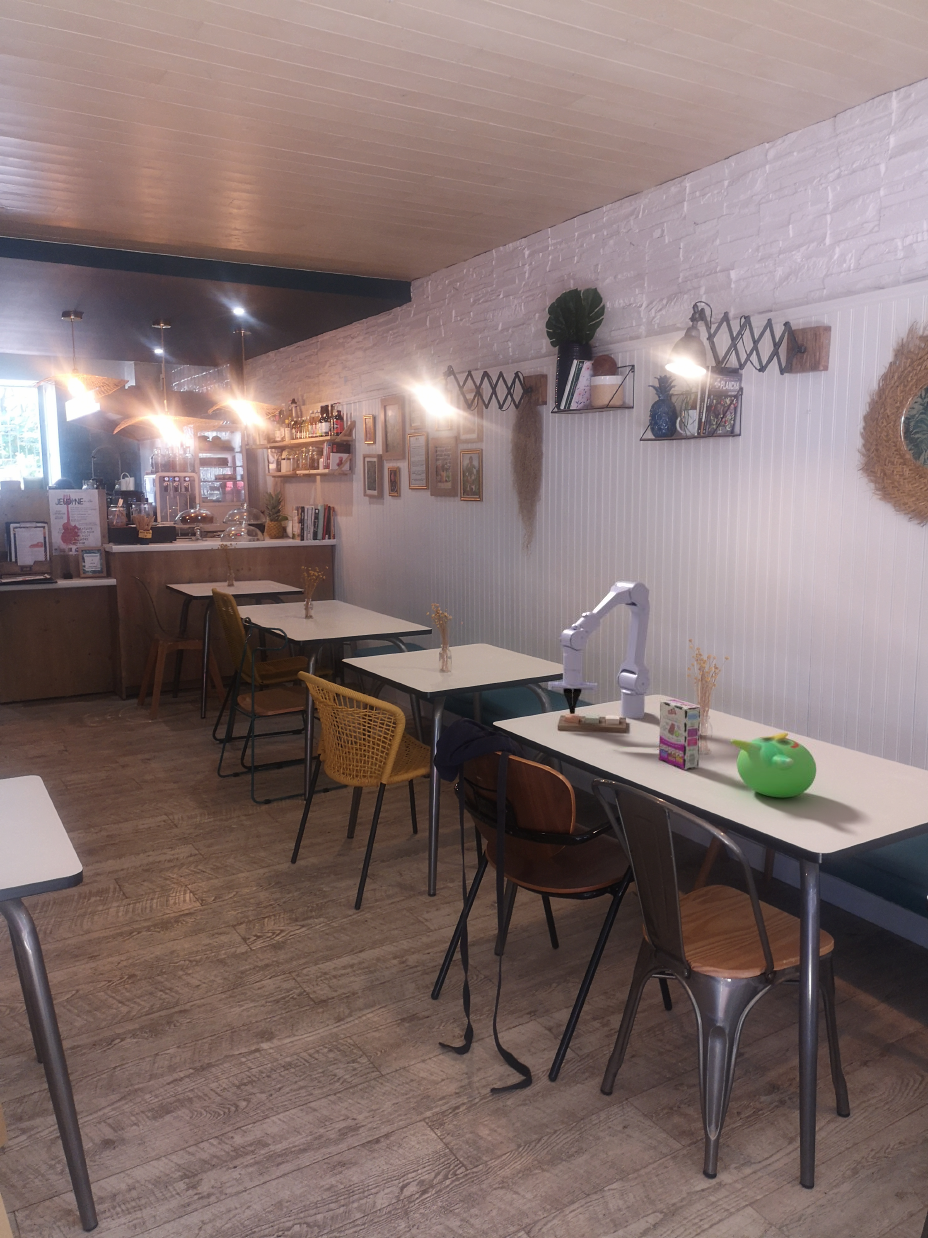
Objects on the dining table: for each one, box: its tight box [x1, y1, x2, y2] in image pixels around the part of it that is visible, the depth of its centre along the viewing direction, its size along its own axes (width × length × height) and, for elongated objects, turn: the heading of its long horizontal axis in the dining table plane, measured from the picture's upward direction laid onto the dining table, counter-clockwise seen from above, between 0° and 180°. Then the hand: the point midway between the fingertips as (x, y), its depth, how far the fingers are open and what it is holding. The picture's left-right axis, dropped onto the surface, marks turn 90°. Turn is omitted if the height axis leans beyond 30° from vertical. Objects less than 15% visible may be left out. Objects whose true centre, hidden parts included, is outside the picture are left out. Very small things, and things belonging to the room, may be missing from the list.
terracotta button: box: [565, 713, 580, 723], centre depth 276 cm, size 4×4×3 cm
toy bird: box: [730, 732, 817, 798], centre depth 216 cm, size 18×17×15 cm
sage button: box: [585, 714, 600, 723], centre depth 275 cm, size 4×4×3 cm
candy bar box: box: [658, 699, 701, 771], centre depth 241 cm, size 11×5×16 cm, turn 25°
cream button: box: [605, 714, 620, 724], centre depth 274 cm, size 4×4×3 cm
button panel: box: [557, 714, 627, 734], centre depth 275 cm, size 12×20×3 cm, turn 80°
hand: (572, 713), depth 276 cm, fingers closed
